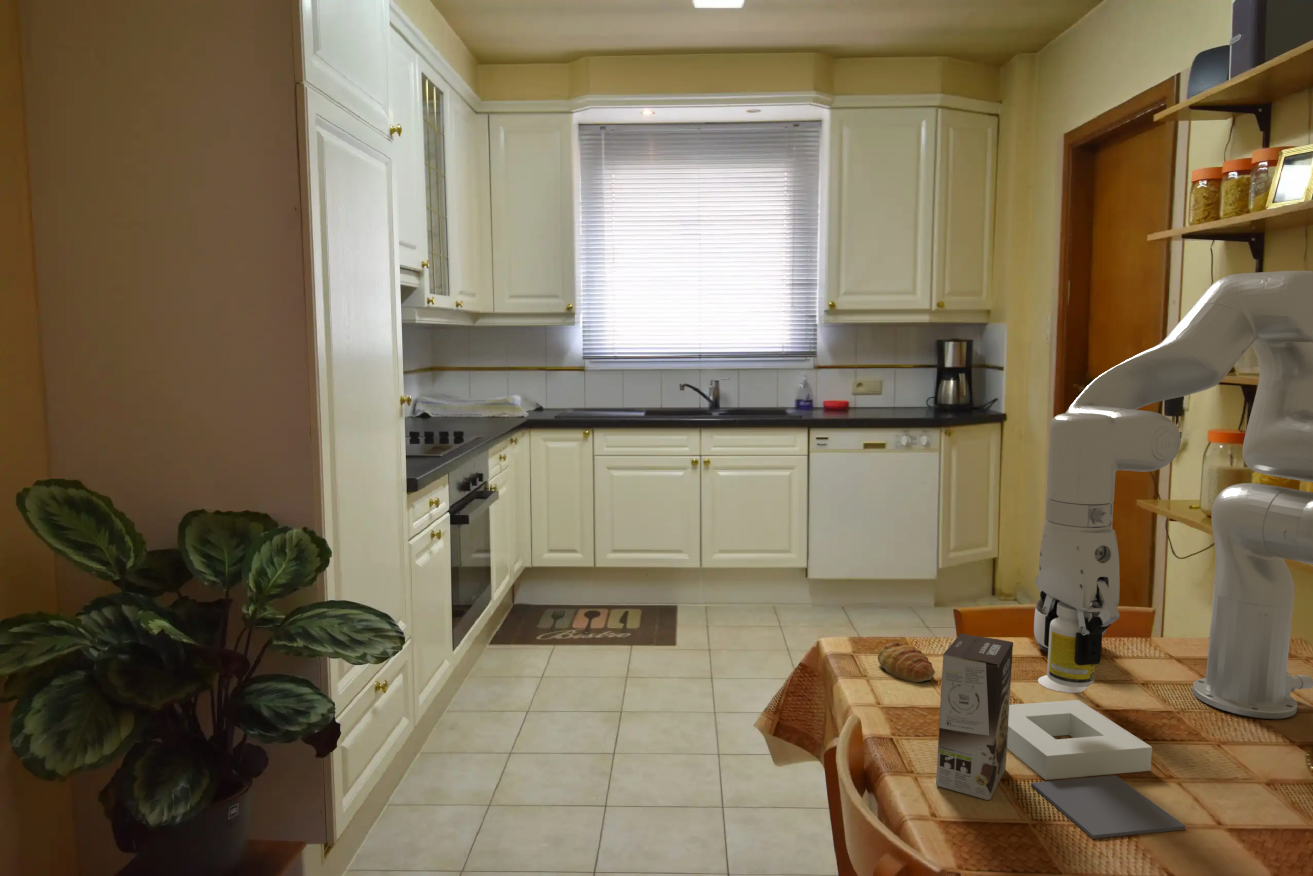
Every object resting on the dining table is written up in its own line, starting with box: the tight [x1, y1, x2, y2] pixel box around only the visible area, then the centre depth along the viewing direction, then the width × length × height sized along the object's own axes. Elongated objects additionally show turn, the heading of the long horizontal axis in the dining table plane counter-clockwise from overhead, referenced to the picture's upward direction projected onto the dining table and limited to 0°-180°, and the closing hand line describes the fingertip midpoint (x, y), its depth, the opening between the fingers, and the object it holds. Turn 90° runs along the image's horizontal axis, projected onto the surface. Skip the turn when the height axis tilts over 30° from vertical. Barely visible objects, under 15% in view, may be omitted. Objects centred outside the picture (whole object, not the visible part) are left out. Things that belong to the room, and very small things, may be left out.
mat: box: [1030, 774, 1186, 840], centre depth 99 cm, size 11×11×1 cm
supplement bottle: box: [1046, 601, 1096, 688], centre depth 112 cm, size 5×5×10 cm
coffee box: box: [935, 633, 1014, 801], centre depth 105 cm, size 9×6×16 cm
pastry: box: [877, 641, 936, 683], centre depth 138 cm, size 9×7×4 cm
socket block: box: [1007, 699, 1153, 781], centre depth 113 cm, size 14×14×3 cm
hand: (1071, 653), depth 112 cm, fingers closed on supplement bottle, 5 cm apart
